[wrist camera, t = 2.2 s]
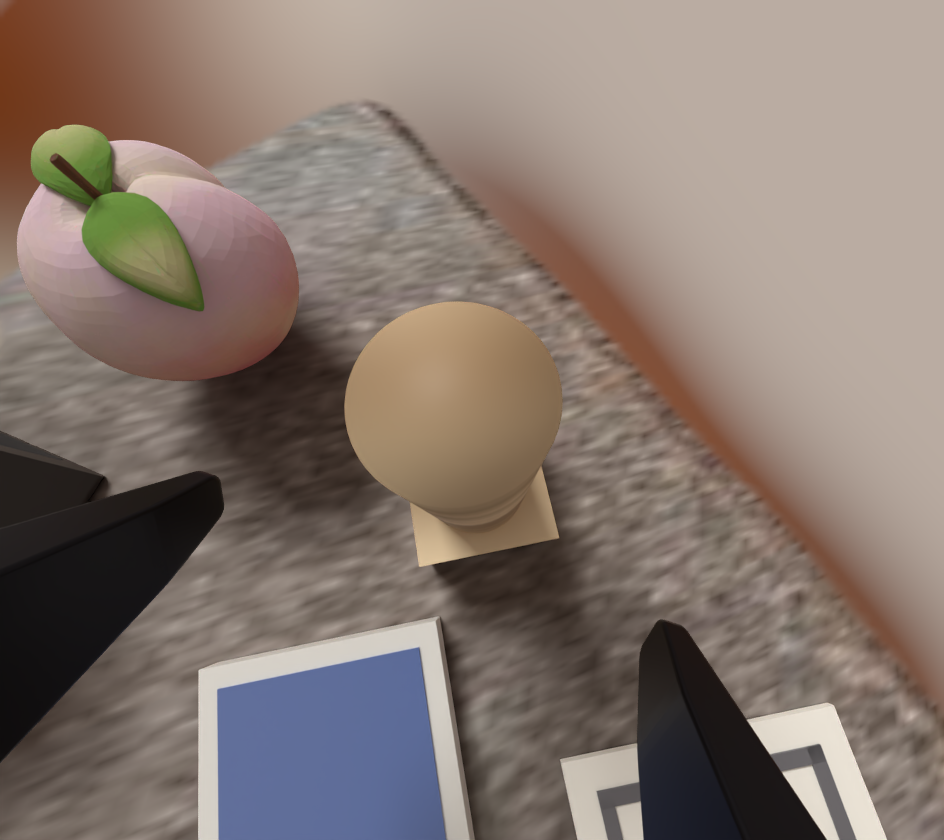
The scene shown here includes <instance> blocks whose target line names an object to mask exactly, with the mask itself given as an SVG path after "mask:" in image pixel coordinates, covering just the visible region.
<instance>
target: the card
mask: <svg viewBox="0 0 944 840" xmlns="http://www.w3.org/2000/svg"><path fill="white" fill-rule="evenodd" d="M747 721H748V722H749V724H750V725H751V727H752V728H753V730H754V731H755V733H756V734H757V736H758V737H759V739H760V740H761V742H762V743H763V745H764V746H765V748H766V749H767V751H768V752H769V754H770V755H771V757H772V758H773V760H774V761H775V763H776V764H777V766H778V767H779V769H780V770H781V772H782V773H783V775H784V776H785V778H786V779H787V781H788V782H789V784H790V785H791V787H792V788H793V790H794V791H795V793H796V794H797V796H798V797H799V799H800V800H801V802H802V803H803V805H804V806H805V808H806V809H807V811H808V812H809V813H810V815H811V816H812V818H813V819H814V821H815V822H816V824H817V825H818V827H819V828H820V830H821V831H822V833H823V834H824V836H825V837H826V839H827V840H887V838H886V836H885V833H884V831H883V828H882V826H881V823H880V821H879V818H878V816H877V813H876V811H875V808H874V806H873V803H872V801H871V798H870V796H869V793H868V791H867V788H866V785H865V783H864V780H863V778H862V775H861V773H860V770H859V768H858V765H857V763H856V760H855V758H854V755H853V753H852V750H851V748H850V745H849V743H848V740H847V738H846V735H845V733H844V730H843V728H842V725H841V722H840V720H839V717H838V715H837V712H836V710H835V707H834V705H832V704H829V703H824V704H819V705H814V706H809V707H805V708H800V709H795V710H790V711H786V712H781V713H776V714H772V715H767V716H762V717H757V718H753V719H748V720H747ZM560 762H561V767H562V772H563V776H564V781H565V785H566V790H567V795H568V799H569V804H570V808H571V813H572V818H573V822H574V827H575V831H576V836H577V840H643V826H642V813H641V800H640V786H639V773H638V757H637V743H634V744H630V745H625V746H620V747H615V748H611V749H606V750H601V751H597V752H592V753H587V754H582V755H578V756H573V757H568V758H563V759H560Z"/></svg>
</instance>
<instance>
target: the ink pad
mask: <svg viewBox="0 0 944 840" xmlns="http://www.w3.org/2000/svg"><path fill="white" fill-rule="evenodd" d="M198 840H475V837H474V831H473V824H472V818H471V812H470V805H469V799H468V793H467V786H466V780H465V774H464V767H463V761H462V755H461V748H460V742H459V736H458V729H457V723H456V717H455V710H454V704H453V698H452V691H451V685H450V679H449V672H448V666H447V660H446V653H445V647H444V641H443V634H442V628H441V622H440V616H438V617H434V618H429V619H424V620H419V621H414V622H409V623H405V624H400V625H395V626H390V627H385V628H381V629H376V630H371V631H366V632H361V633H356V634H352V635H347V636H342V637H337V638H332V639H328V640H323V641H318V642H313V643H308V644H303V645H299V646H294V647H289V648H284V649H279V650H275V651H270V652H265V653H260V654H255V655H250V656H246V657H241V658H236V659H231V660H226V661H222V662H218V663H215V664H213V665H210V666H208V667H205V668H203V669H200V670H199V772H198Z"/></svg>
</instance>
